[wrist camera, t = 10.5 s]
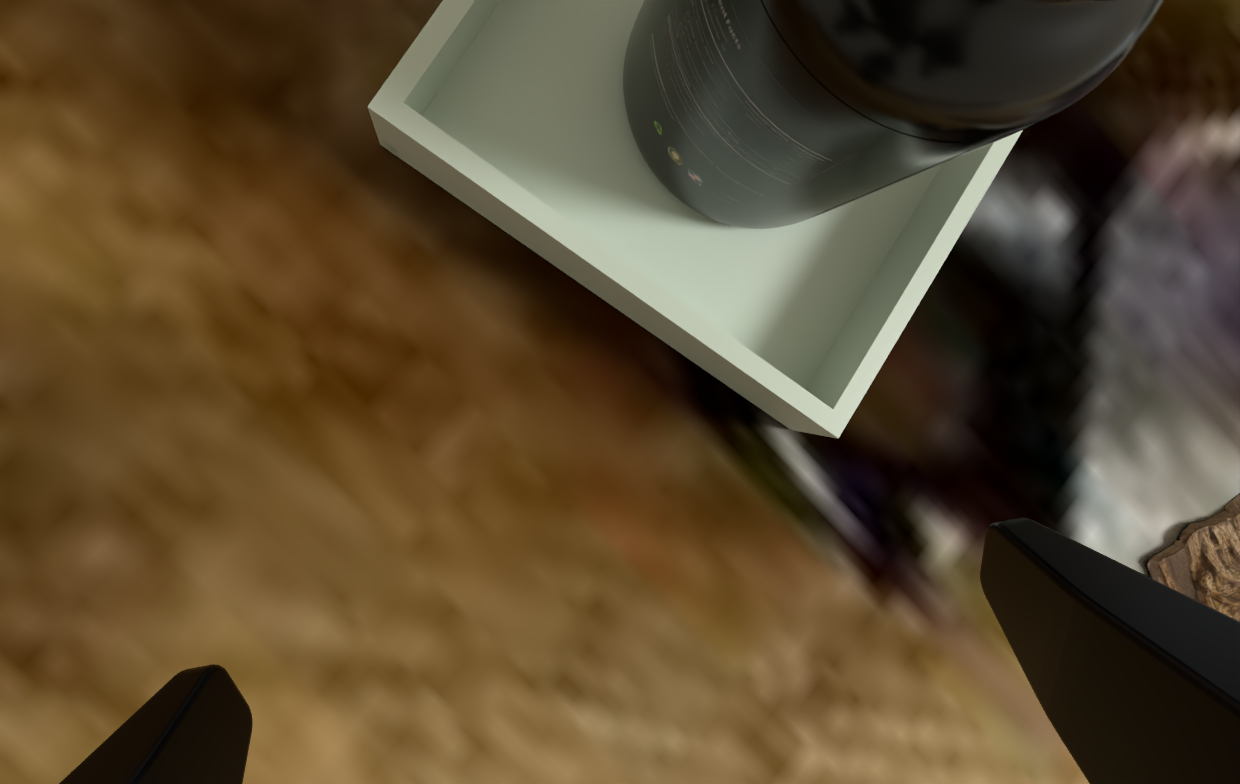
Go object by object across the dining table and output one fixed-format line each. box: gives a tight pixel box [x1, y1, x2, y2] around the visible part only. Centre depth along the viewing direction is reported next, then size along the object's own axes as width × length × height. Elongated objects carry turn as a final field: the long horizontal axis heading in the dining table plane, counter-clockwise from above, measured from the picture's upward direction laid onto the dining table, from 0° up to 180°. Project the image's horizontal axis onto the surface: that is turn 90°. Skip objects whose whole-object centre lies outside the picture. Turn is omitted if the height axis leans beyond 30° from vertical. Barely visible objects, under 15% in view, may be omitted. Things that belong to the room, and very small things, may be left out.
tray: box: [368, 0, 1023, 438], centre depth 17 cm, size 13×13×2 cm
